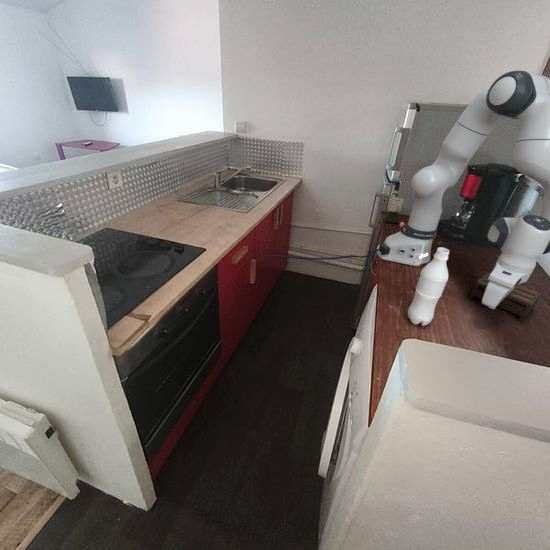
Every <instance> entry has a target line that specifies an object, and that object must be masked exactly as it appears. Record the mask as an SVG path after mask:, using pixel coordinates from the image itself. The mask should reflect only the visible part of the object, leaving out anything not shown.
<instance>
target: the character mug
mask: <svg viewBox="0 0 550 550" xmlns="http://www.w3.org/2000/svg"><path fill="white" fill-rule="evenodd" d="M404 201H405V200H404V198H402V197H394V196H393V197H390V198H389V202H388V205H387V210H388V213H387V216H386V219H385V221H386V222H388V223H391V224H393V223H395V224H396V223H398V221H399V213H400V212H401V211H402V209H403V205H404Z"/></svg>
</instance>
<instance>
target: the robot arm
mask: <svg viewBox="0 0 550 550" xmlns="http://www.w3.org/2000/svg"><path fill="white" fill-rule="evenodd" d="M506 118H510V119H512V120H519V122H520V130H519V133H518V136H517V139H516V142H515V146H514V149H513V153H512V158H511V159H512V164H513V166H514V168H515V169H516V170H517V171H518V172H519V173H520V174H521V175H523V176H525V177H527V178H530V179H531V180H534V181H535V182H536V183H538V184H539V185H540V186H541V187H542V189H543V200H542V206H541V212H540V215H537V214H525V215H522V216H520V217H500V218H498V219H496V220H494V221H493V222H492V223H491V224H490V226H489V227H488V229H487V233H486V239H487V242H488V243H489V244H490V246H492V247H493V248H495V249H497V250H500V251H501V253H500V255H499V256H498V258H497V259H496V262H495V264H494V265H493V268H492V271H491V272H490V273H489V274H490V275H489V277H488V280H490V281H489V283H488V285H487V287H486V290H485V293H484V295H483V298H482V299H481V304H482V305H483V306H486V307H488V308H489V309H492V310H495V309H496V308H497V307H498V305H499V303H500V302H501V301H502V300H503V299H504V298H505V297H506V296H507V295H508V294H509V293H510V292H511V291H512V290H513V289H514V288H515V287H516V286H517V285H519V286H520V285H521V284H525V283H526V282H528V280H529V279H530V278H531V276H532V273H533V272H534V270H535V268H536V266H537V262H538V259H539V258H540V257H541V256H542V255H547V254H548V253H550V78H549V77H547V76H545V75H543V74H540V73H532V72H528V71H525V70H512V71H508V72H505V73H504V74H501V75H500V76H499V77H497V78H496V79H495V80H494V81H493V82H492V84H491V85H490V87H489V89H485V90H483V91H480V92H479V93H478V94H477V95H476V96H475V97H474V98H473V100H471V102H470V103H469V104H467V106H466V107H465V109H464V110H463V112H462V113H461V115H459V117H458V119H456V121H455V123H454V125H453V126H452V128H451V129H450V131H449V133H448V134H447V136H446V137H445V139H443V141H442V144H441V149H440V151H439V153H438V156H437V157H436V159H435V161H434V162H433V163H432V164H430V165H428V166H425V167H423V168H421V169H420V170H418V171H417V172H416V173H415V174H414V175H413V177H412V178H411V181H410V188H411V190H412V206H411V209H410V210H411V212H410V214H409V217H408V222H407V223H405V222H404V221H400V222H399V227H400V231H397V232H395V233H392V234H391V235H388V236H387V237H386V238H385V240H384V241H383V243H379V245H377V247H376V249H374V250H372V251H370V252H369V254H367V255H354V254H353V255H351V254H349V255H342V256H341V255H340V256H335V257H334V256H333V257H306V256H304V257H303V256H295V255H285V254H284V255H283V254H264V255H261V256H260V257H259V259H258V260H259V261H261V260H263V259H264V258H287V259H297V260H298V259H300V260H310V261H311V260H312V261H314V260H315V261H319V260H320V261H327V260H328V261H329V260H339V259H346V258H347V259H348V258H359V259H361V258H362V259H363V258H369V257H371V256H372V255H373V254H374V253H376V254H377V256H378V257H379V258H380V259H381V260H384V261H388V262H392V263H393V262H394V263H398V264H404V265H407V266H408V265H409V266H413V267H420V266H421V265H423V264H429V263H430V262H431V253H432V252H431V251H432V245H433V242H434V240H435V238H436V236H437V233H438V225H439V223H440V219H441V217H442V213H443V207H442V204H443V197H444V194H445V192H446V191H447V190H450V189H452V188H454V186H455V185H456V184H457V183H458V181H459V180H460V178H461V176H462V174H463V173H464V171H465V170H466V168H467V167H468V164H469V162H470V161H471V159H472V158H473V156H474V155H475V154H476V152H477V151H478V150H479V149H480V147H481V146H482V144H483V143H484V142H485V141H486V139H487V138H488V136H489V135H490V134H491V132H492V131H493V129H495V127H496V126H497V124H498V123H499V122H501V121H502V120H504V119H506Z"/></svg>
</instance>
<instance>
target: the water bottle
mask: <svg viewBox="0 0 550 550" xmlns="http://www.w3.org/2000/svg"><path fill="white" fill-rule="evenodd" d="M449 255H450V249H449V248H446V247H441V246H440V247H437V249H436V252H434V254H433V258H432V260H430V261H429V262H428V263H426V265H425V266H424V267H423V268H422V269H421V270H420V275H419V277H418V280H417V283H416V286H415V293H414V296H413V299H412V302H411V304H410V306H409V307H408V309H407V318H408V319H409V320H410V322H411V323H412V324H413V325H415V326H416V325H419V324H421V326H422V327H425V326H427V325H429V324H430V323H431V322H432V320H433V318H434V316H435V309H436V306H437V303H438V301H439V300H440V298H441V296H442V295H443V292H444V290H445V288H446V284H447V282H448V281H449V270H448V266H447V261H448V260H449Z"/></svg>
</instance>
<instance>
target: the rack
mask: <svg viewBox="0 0 550 550" xmlns="http://www.w3.org/2000/svg"><path fill="white" fill-rule="evenodd" d="M490 274H491V273H489V272H487V273H486V274H485V275H483V276H482V277H481V278H479V279H478V280H476V282H475V284H474V286H473V288H472V290H471V292H470V294H469V296H468V298H470V299H474V298H475V297H476V298H478V299H480V300H482V298H483V295H484V293H485V290H486V287H487V285H488V283H489V281H490V280H488V277H489V275H490ZM541 296H542V293H541V292H538V291H534V290H532V289H529V288H527V287H524V286H522V285H520V284H519V285H517V286H516V287H515V288H514V289H513V290H512V291H511V292H510V293H509V294H508V295H507V296H506V297H505V298H504V299H503V300H502V301H501V302H500V303H499V305H498V306H497V307H498V308H500V309H503V310H505V311H508V312H509V313H512V314H514V315H516V316H519V318H518V320H519V321H521V322H524V320H525V319H526V317H527V316H528V315H529V314H530V313H531V312H532V310H533V309H534V307H535V305H536V304H537V302H538V300H539V299H540V297H541Z"/></svg>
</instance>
